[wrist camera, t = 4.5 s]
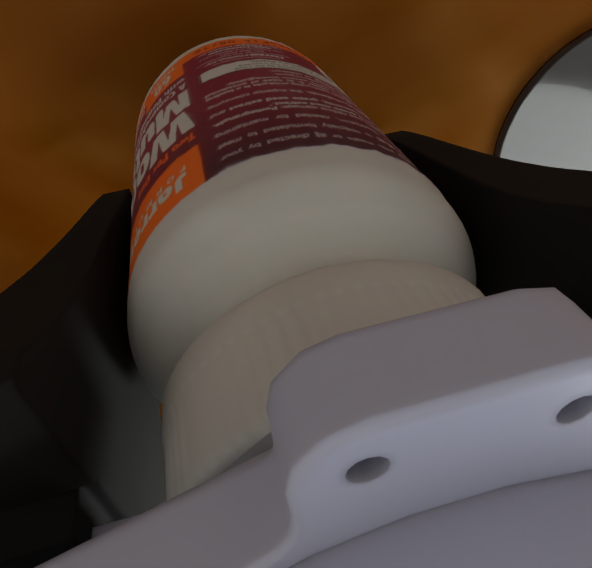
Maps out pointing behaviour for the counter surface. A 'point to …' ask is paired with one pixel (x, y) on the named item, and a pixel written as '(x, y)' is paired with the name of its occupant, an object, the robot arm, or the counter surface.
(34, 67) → the counter surface
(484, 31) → the counter surface
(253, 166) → the pill bottle
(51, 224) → the counter surface
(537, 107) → the coaster
